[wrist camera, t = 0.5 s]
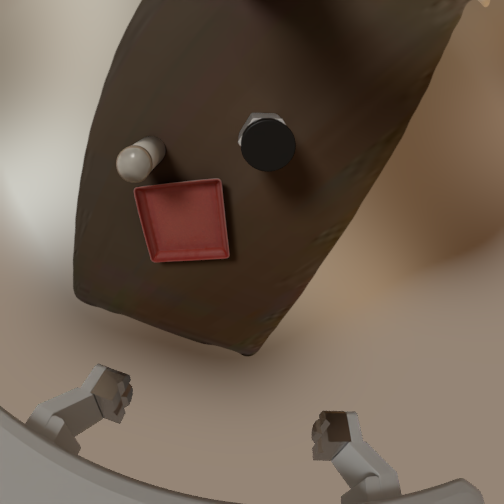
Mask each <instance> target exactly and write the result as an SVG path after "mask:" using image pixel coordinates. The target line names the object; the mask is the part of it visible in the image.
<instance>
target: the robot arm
mask: <svg viewBox="0 0 504 504" xmlns="http://www.w3.org/2000/svg"><path fill="white" fill-rule="evenodd" d="M130 380H131V379H130V376H129V375H128V374H125V373H122V372H119V371H117V370H114V369H111V368H109V367H106V366H103V365H101V364H97V365H96V366H95V367H94V368H93V370H92V371H91V373H90V374H89V376H88V378H87V379H86V380H85V382H84V384H83V385H82V387H81V388H75V389H73V390H71V391H68V392H66V393H64V394H62V395H59V396H57V397H55V398H53V399H50V400H48V401H45V402H43V403H41V404H38V406H37V407H36V408H35V410H34V411H33V413H32V414H31V416H30V417H29V419H28V420H27V422H26V423H25V424H24V423H23V422H21V421H20V420H18V419H17V418H16V417H14V416H13V415H11V414H10V413H9V412H7V411H6V410H5V409H3V408H2V407H1V406H0V504H240V503H233V502H225V501H219V500H213V499H208V498H202V497H198V496H192V495H188V494H184V493H180V492H175V491H172V490H168V489H165V488H161V487H158V486H154V485H151V484H148V483H145V482H142V481H139V480H136V479H133V478H130V477H127V476H125V475H122V474H120V473H117V472H114V471H112V470H110V469H107V468H104V467H102V466H100V465H98V464H95V463H93V462H91V461H89V460H87V459H85V458H83V457H81V456H78V453H79V451H80V449H81V447H80V445H79V444H78V442H77V441H76V439H75V436H76V435H78V434H80V433H81V432H83V431H85V430H86V429H88V428H89V427H91V426H92V425H94V424H95V423H97V422H98V421H100V420H102V419H103V418H106V419H108V420H111V421H114V422H116V423H119V424H120V423H121V421H122V419H123V416H124V414H125V410H124V407H126V406H128V405H129V404H130V402H131V399H132V395H133V393H132V392H133V389H132V386H131V385H130V384H129V382H130ZM319 418H320V419H318V420H317V421H316V422H315V423H314V425H313V428H312V440H313V441H314V443H315V445H314V447H313V448H312V449H313V460H329V461H330V460H331V462H332V463H333V465H334V466H335V468H336V469H337V470H338V472H339V473H340V474H341V476H342V477H343V479H344V480H345V481H346V483H347V484H348V485H349V487H350V488H351V490H349V491H348V492H346V493H345V494H344V495H342V496H341V504H484V500H483V497H482V494H481V492H480V491H479V490H478V489H477V488H476V487H475V486H473V485H472V484H471V483H470V482H468V481H467V480H465V479H463V478H459V479H455V480H453V481H450V482H447V483H444V484H441V485H438V486H435V487H431V488H428V489H424V490H421V491H417V492H413V493H409V494H405V495H401V490H400V485H399V480H398V476H397V472H396V471H395V470H394V469H393V468H392V467H391V466H390V465H389V464H388V463H387V462H386V461H385V460H384V459H383V458H382V457H381V456H380V455H379V454H378V453H377V452H376V451H375V450H374V449H373V448H372V447H371V446H370V445H369V444H368V443H367V442H363V438H362V434H361V429H360V424H359V420H358V415H357V413H356V412H344V411H322V412H321V413H320V415H319Z"/></svg>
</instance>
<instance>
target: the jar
mask: <svg viewBox="0 0 504 504" xmlns="http://www.w3.org/2000/svg"><path fill="white" fill-rule="evenodd" d="M238 143H239V145H240V146H241V151H242V155H243V157H244V159H245V160H246V161H247V162H248V164H250V165H251V166H252V167H254V168H256V169H258V170H261V171H275V170H278V169H281V168H283V167H284V166H285V165H287V164H288V163H289V162H290V160H291V159H292V157H293V155H294V152H295V147H296V143H295V138H294V135H293V133H292V132H291V130H290V129H289V128H288V127H287V126H286V124H285V122H284V121H283V119H282V118H281V117H279V116H278V115H277V114H275V113H251V115H250V116H249V118H248V119H247V121H246V123H245V124H244V126H243V127H242V129H241V131H240V132H239V140H238Z"/></svg>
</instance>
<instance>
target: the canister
mask: <svg viewBox="0 0 504 504" xmlns="http://www.w3.org/2000/svg"><path fill="white" fill-rule="evenodd" d="M165 152H166V149H165V145H164V143H163V142H162V140H161V139H159V138H158V137H155V136H148V137H145V138H143V139H142V140H140V141H138V142H137V143H135V144H133V145H132V146H128V147H126V148H125V149H123V150H122V151H121V152H120V153H119V155H118V157H117V161H116V167H117V171H118V173H119V175H120V176H121V177H122V178H123V179H124V180H126V181H128V182H131V183H138V182H141V181H143V180H144V179H145V178H146V177H147V176H148V175H149V174H150V172H151V171H152V170H153V169H154V168H155V167H156V166H157V165H158V164H159V163H160V162H161V161H162V160H163V158H164V156H165Z"/></svg>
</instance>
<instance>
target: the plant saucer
mask: <svg viewBox="0 0 504 504" xmlns="http://www.w3.org/2000/svg"><path fill="white" fill-rule="evenodd" d="M134 196H135V200H136V204H137V208H138V213H139V217H140V221H141V225H142V229H143V232H144V236H145V240H146V244H147V247H148V251H149V255H150V258H151V260H152V261H153V262H173V261H192V260H209V259H226V258H228V257H229V256H230V253H229V245H228V236H227V227H226V218H225V208H224V199H223V188H222V181H221V180H220V179H218V178H215V179H204V180H193V181H184V182H175V183H166V184H158V185H150V186H142V187H136V188H135V189H134Z"/></svg>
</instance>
